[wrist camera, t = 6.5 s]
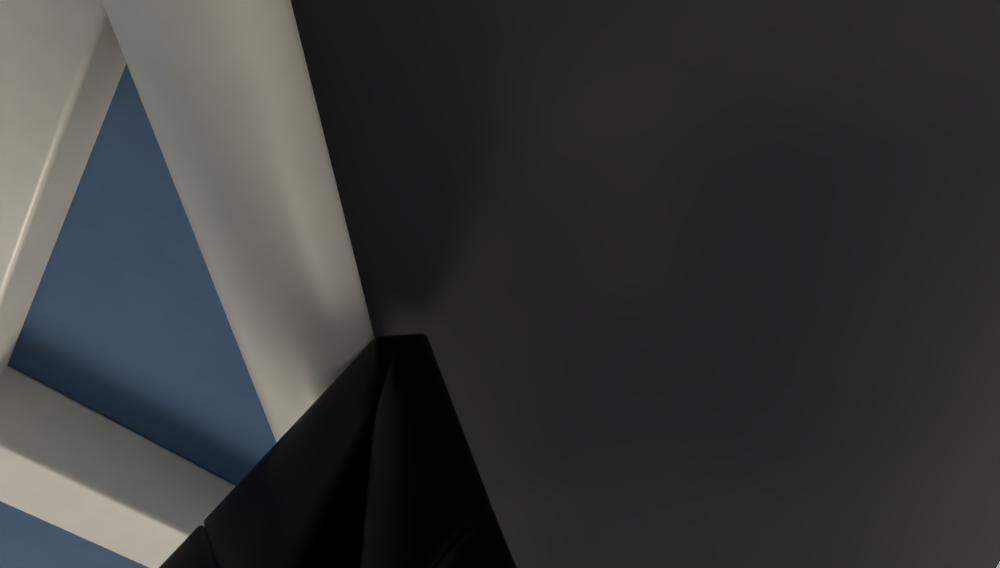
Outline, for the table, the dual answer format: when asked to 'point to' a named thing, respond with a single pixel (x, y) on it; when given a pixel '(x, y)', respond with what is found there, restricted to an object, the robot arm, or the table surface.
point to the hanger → (214, 220)
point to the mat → (610, 274)
